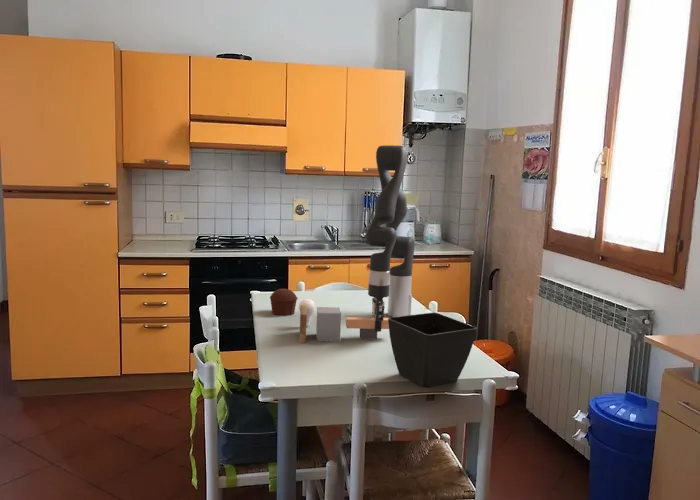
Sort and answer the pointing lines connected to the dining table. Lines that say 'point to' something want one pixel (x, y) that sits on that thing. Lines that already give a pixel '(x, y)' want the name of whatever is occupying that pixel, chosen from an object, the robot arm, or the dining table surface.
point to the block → (328, 324)
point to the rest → (368, 334)
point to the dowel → (365, 323)
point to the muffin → (283, 302)
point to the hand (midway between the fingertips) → (376, 329)
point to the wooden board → (303, 323)
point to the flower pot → (430, 347)
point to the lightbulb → (308, 309)
